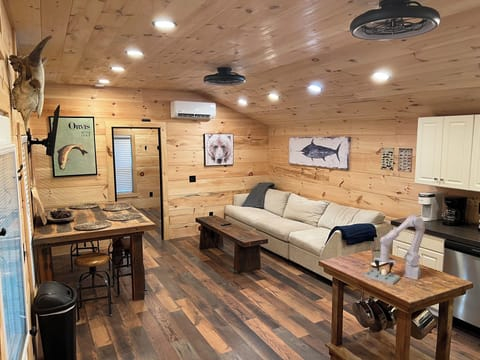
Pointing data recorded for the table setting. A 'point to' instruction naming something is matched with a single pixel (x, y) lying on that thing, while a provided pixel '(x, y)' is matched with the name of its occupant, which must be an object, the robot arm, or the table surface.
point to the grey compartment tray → (382, 276)
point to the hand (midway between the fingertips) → (383, 271)
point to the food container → (376, 252)
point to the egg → (384, 272)
